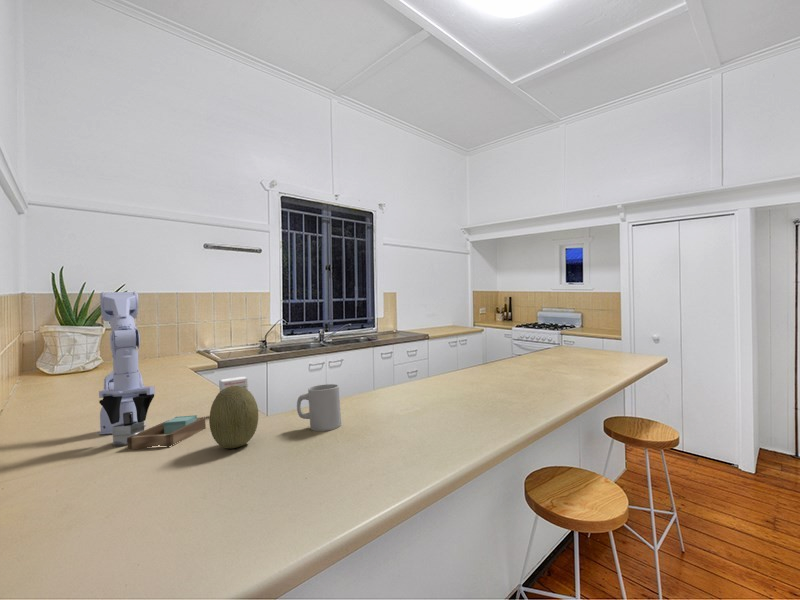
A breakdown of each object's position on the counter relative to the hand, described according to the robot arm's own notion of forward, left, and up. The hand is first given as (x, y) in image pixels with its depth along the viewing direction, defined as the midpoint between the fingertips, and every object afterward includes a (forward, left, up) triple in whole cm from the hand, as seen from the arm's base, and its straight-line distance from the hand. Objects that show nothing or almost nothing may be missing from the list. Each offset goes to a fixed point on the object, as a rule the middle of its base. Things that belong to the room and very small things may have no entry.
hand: (128, 422), depth 103 cm
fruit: (+35, -9, -6) cm, 36 cm away
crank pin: (0, 0, -3) cm, 3 cm away
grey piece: (0, 0, -5) cm, 5 cm away
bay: (+11, +1, -5) cm, 12 cm away
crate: (+11, +6, -6) cm, 14 cm away
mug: (+53, +3, -6) cm, 53 cm away
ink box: (+17, +27, -6) cm, 32 cm away
